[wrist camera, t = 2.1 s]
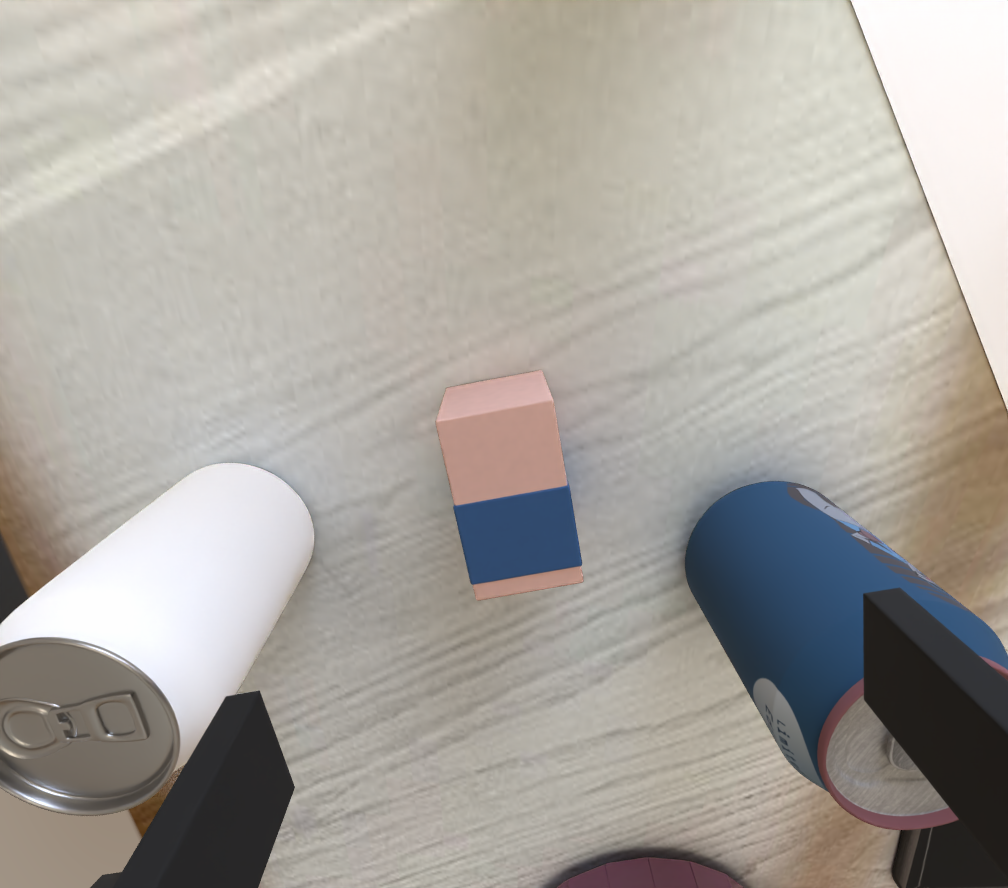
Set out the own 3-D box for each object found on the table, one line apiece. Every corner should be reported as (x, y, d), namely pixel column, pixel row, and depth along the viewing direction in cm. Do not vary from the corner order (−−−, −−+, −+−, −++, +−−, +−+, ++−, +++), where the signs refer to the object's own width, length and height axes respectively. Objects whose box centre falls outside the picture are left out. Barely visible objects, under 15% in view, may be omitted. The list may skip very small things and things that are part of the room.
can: (147, 469, 27) (-110, 642, 15) (298, 449, 27) (151, 608, 15) (192, 602, 29) (-7, 842, 17) (332, 583, 29) (224, 814, 17)
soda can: (673, 614, 29) (789, 853, 18) (679, 474, 27) (813, 645, 16) (823, 606, 29) (1033, 841, 18) (840, 465, 27) (1091, 631, 16)
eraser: (478, 539, 28) (475, 602, 23) (444, 387, 26) (433, 422, 21) (569, 523, 28) (585, 583, 23) (543, 369, 26) (555, 399, 21)
